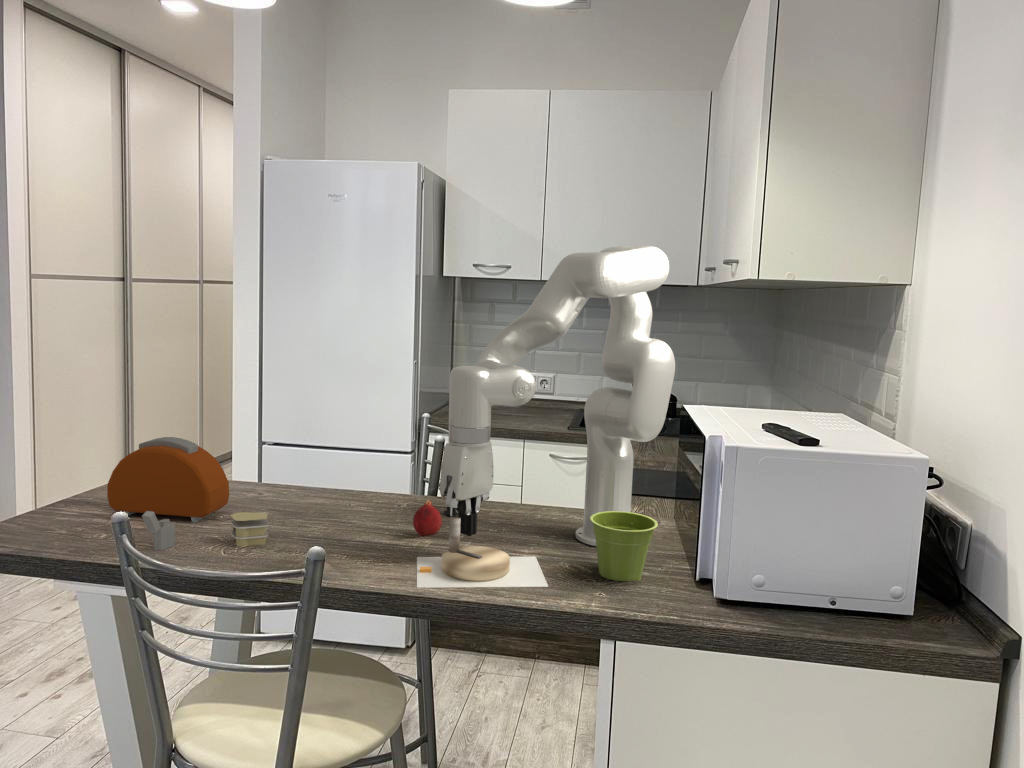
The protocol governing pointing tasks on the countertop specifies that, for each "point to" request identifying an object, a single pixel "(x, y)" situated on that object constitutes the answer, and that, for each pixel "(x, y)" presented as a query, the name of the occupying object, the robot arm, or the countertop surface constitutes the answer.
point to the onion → (427, 520)
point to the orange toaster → (168, 480)
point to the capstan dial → (472, 558)
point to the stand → (519, 575)
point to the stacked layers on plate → (249, 528)
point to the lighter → (160, 531)
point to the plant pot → (622, 543)
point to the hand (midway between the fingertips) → (467, 533)
